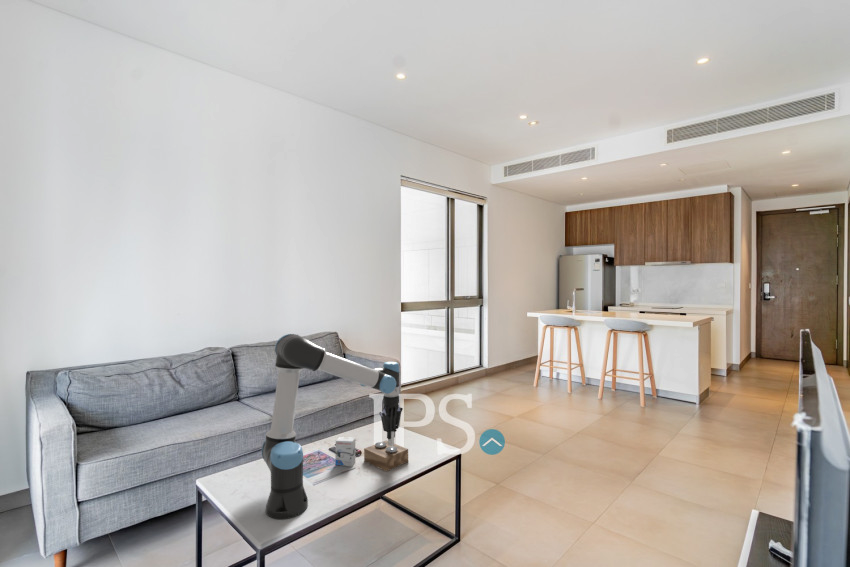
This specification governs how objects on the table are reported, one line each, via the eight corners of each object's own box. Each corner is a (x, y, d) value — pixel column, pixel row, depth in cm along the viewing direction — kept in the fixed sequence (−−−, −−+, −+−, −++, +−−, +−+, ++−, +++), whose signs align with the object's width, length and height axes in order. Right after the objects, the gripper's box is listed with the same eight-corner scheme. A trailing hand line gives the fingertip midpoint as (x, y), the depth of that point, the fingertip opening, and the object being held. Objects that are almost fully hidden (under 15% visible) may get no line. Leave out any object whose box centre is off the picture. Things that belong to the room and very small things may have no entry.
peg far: (380, 461, 199) (380, 447, 199) (373, 458, 203) (373, 444, 203) (388, 458, 203) (388, 443, 203) (381, 455, 206) (381, 441, 206)
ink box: (334, 465, 195) (334, 440, 195) (338, 461, 200) (338, 436, 200) (352, 466, 195) (352, 441, 194) (355, 461, 200) (355, 437, 200)
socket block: (386, 471, 189) (385, 458, 189) (364, 460, 200) (364, 448, 200) (408, 461, 199) (408, 449, 199) (386, 452, 211) (386, 440, 210)
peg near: (391, 466, 193) (391, 451, 193) (383, 463, 197) (383, 448, 197) (399, 463, 197) (399, 448, 197) (392, 459, 201) (392, 445, 201)
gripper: (386, 399, 190) (385, 451, 190) (406, 394, 199) (406, 443, 199) (375, 396, 195) (375, 446, 195) (396, 391, 204) (395, 439, 204)
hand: (391, 445), depth 197 cm, fingers closed
